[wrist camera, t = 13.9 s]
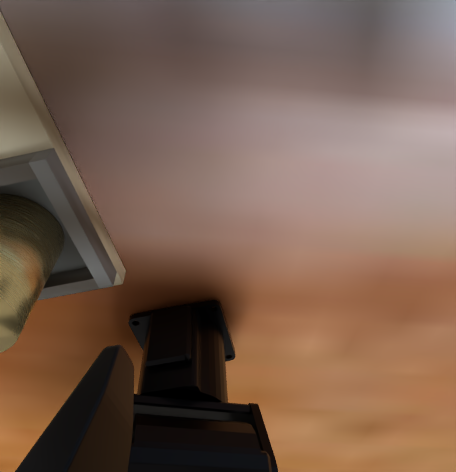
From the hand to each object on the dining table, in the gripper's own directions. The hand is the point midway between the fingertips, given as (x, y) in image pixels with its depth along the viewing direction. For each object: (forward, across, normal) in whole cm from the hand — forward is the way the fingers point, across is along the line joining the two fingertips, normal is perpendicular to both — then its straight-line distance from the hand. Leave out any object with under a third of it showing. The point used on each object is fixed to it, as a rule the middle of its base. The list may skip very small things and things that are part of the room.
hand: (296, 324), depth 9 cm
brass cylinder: (+11, +13, +2) cm, 17 cm away
